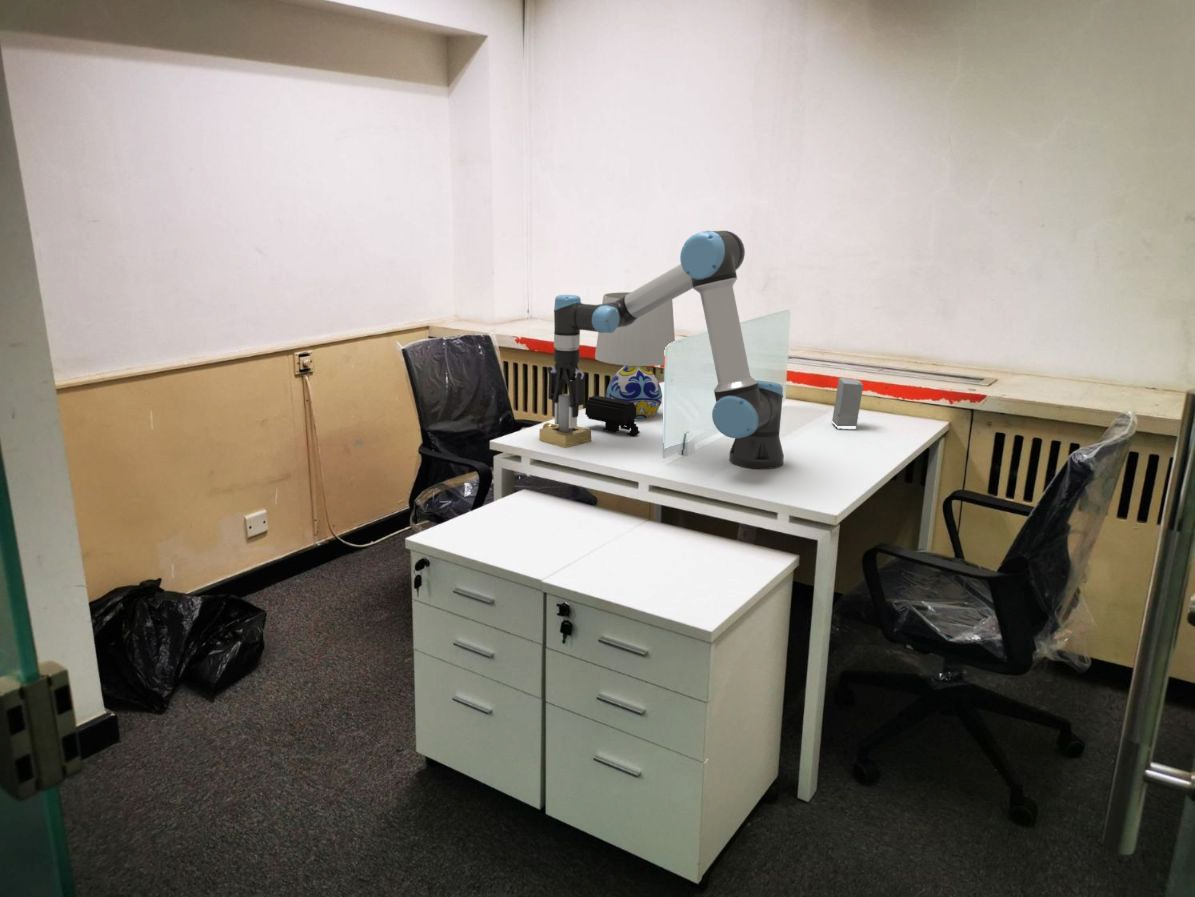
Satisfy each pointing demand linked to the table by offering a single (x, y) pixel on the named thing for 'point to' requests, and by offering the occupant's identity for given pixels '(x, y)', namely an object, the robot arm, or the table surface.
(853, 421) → the skincare box
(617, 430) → the security camera
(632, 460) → the table surface
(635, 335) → the table lamp
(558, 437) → the gold square frame
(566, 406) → the grey rounded cylinder
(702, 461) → the table surface
